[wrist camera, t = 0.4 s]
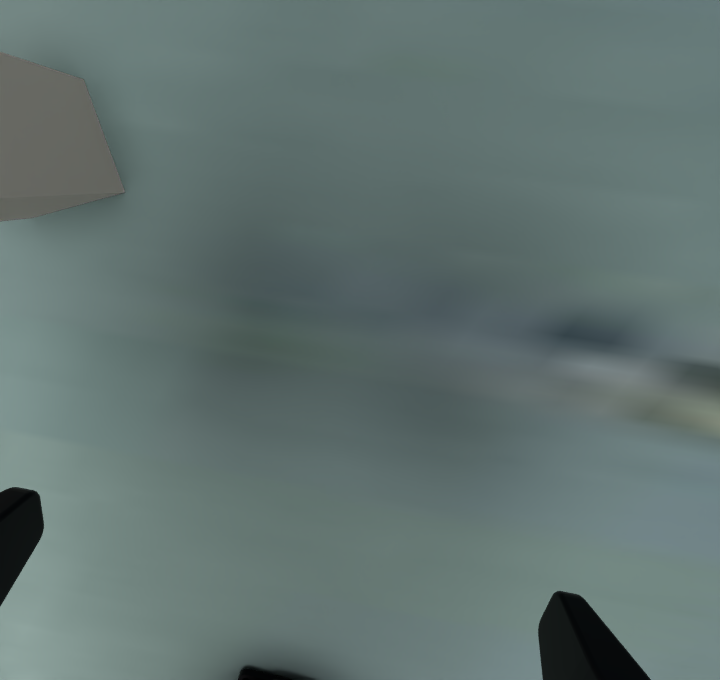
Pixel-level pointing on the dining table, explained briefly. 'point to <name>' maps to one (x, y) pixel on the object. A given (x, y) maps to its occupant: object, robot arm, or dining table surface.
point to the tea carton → (49, 143)
